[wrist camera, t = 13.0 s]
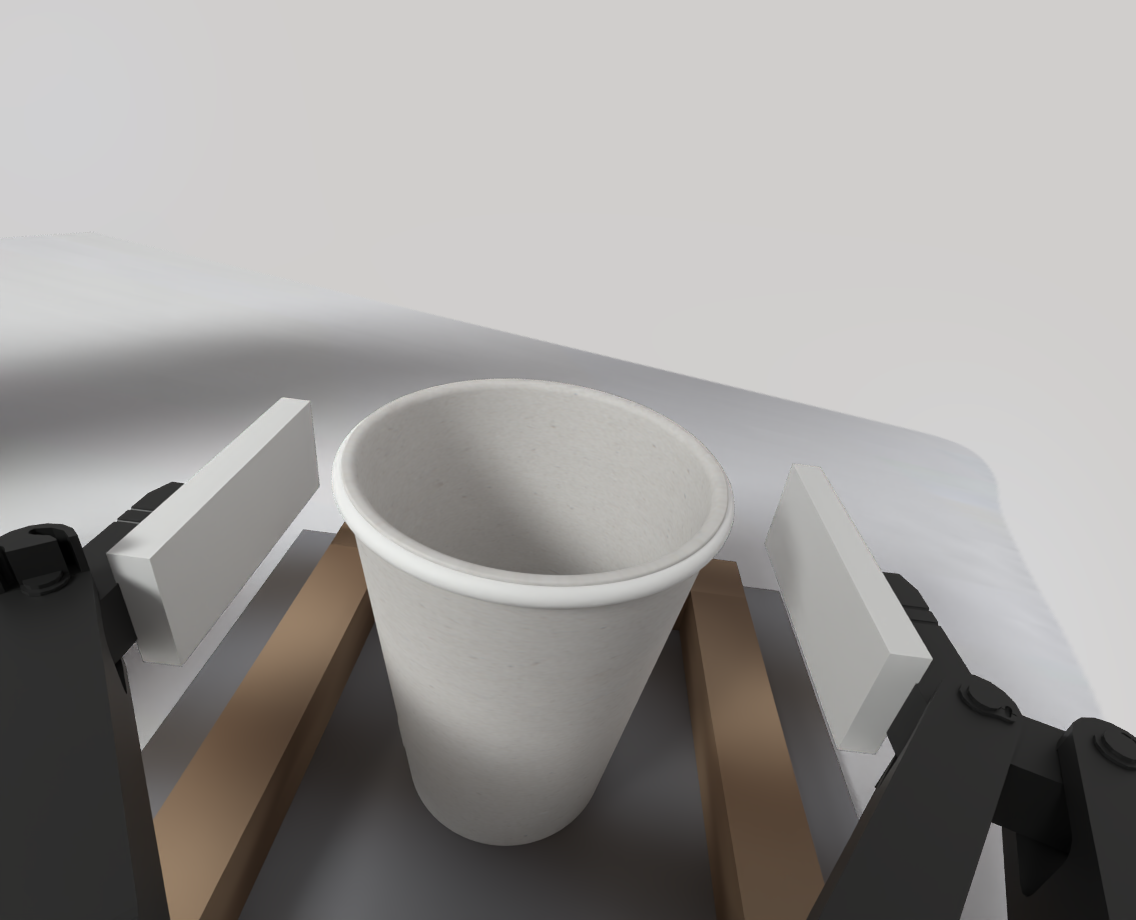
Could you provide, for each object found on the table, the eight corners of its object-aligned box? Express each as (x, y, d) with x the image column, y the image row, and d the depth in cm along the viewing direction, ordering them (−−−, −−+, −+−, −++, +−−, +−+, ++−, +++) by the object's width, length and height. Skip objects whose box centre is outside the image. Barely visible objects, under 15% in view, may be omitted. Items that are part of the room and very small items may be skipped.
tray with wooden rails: (1173, 1782, 8) (1318, 1840, 6) (-446, 1588, 7) (-616, 1606, 6) (776, 598, 26) (793, 553, 24) (304, 537, 26) (297, 489, 24)
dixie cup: (318, 905, 14) (259, 574, 9) (392, 631, 21) (382, 362, 16) (673, 907, 15) (800, 605, 10) (628, 643, 22) (689, 390, 17)
